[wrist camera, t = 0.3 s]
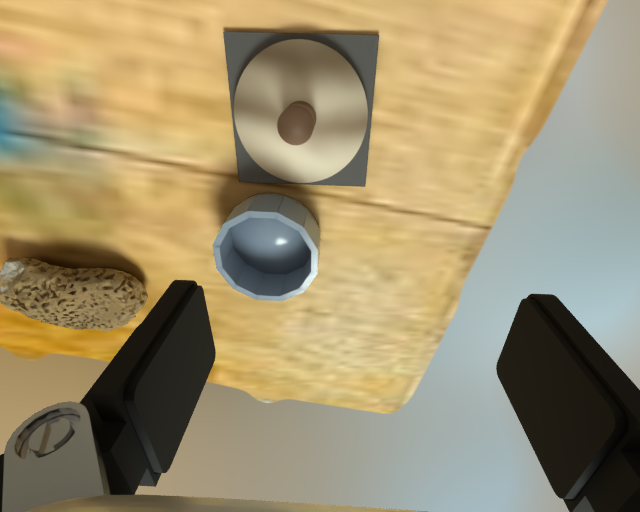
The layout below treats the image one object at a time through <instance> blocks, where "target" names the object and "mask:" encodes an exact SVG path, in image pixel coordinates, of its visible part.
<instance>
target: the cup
mask: <svg viewBox="0 0 640 512" xmlns="http://www.w3.org/2000/svg"><path fill="white" fill-rule="evenodd" d="M213 250H214V256H215V262H216V268H217V270H218V271H219V272H220V274H221V275H222V276H223V277H224V278H225V280H226V281H227V282H228V283H229V285H230V286H231V287H232V288H233V289H235V290H237V291H239V292H241V293H243V294H245V295H247V296H249V297H251V298H253V299H255V300H269V301H281V300H282V301H283V300H286V299H288V298H290V297H293V296H295V295H298V294H300V293H303V292H304V291H305V290H306V288H307V287H308V286H309V284H310V283H311V282H312V280H313V279H314V278H315V276H316V275H317V273H318V264H319V255H320V229H319V227H318V224H317V222H316V220H315V218H314V216H313V215H312V213H311V212H310V211H309V210H308V209H307V208H306V207H305V206H304V205H303V204H301V203H300V202H298V201H297V200H295V199H293V198H291V197H288V196H285V195H282V194H276V193H263V194H258V195H254V196H252V197H249V198H247V199H246V200H244V201H243V202H241V203H240V204H239V205H237V206H235V208H234V209H233V211H232V212H231V213H230V215H229V216H228V218H227V219H226V221H225V222H224V224H223V226H222V228H221V230H220V232H219V234H218V236H217V238H216V239H215V241H214V243H213Z"/></svg>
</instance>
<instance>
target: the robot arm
mask: <svg viewBox="0 0 640 512" xmlns="http://www.w3.org/2000/svg"><path fill="white" fill-rule="evenodd" d="M214 361H215V346H214V341H213V336H212V331H211V326H210V321H209V316H208V311H207V306H206V301H205V296H204V291H203V288H202V286H197V283H196V282H195V281H190V280H174V281H173V282H172V283H171V285H170V286H169V287H168V289H167V290H166V291H165V293H164V294H163V295H162V297H161V298H160V299H159V301H158V302H157V303H156V305H155V306H154V307H153V309H152V310H151V311H150V313H149V314H148V315H147V317H146V318H145V319H144V321H143V322H142V323H141V324H140V325H139V326H138V327H137V328H136V329H135V330H134V332H133V333H132V334H131V336H130V337H129V338H128V340H127V341H126V342H125V344H124V345H123V346H122V348H121V349H120V350H119V352H118V353H117V354H116V356H115V357H114V358H113V360H112V361H111V362H110V364H109V365H108V366H107V368H106V369H105V370H104V371H103V373H102V374H101V375H100V377H99V378H98V379H97V381H96V382H95V383H94V385H93V386H92V388H91V389H90V390H89V391H88V393H87V394H86V395H85V397H84V398H83V399H82V401H81V402H80V403H77V402H63V403H58V404H55V405H52V406H49V407H46V408H44V409H43V410H41V411H39V412H37V413H35V414H34V415H32V416H31V417H30V418H28V419H27V420H25V421H24V422H23V423H22V424H21V425H20V426H19V427H18V428H17V429H16V430H15V431H14V432H13V434H12V435H11V437H10V439H9V440H8V442H7V445H6V448H5V453H4V454H2V455H0V512H426V511H411V510H396V509H381V508H366V507H351V506H336V505H335V506H334V505H320V504H304V503H288V502H273V501H256V500H240V499H224V498H207V497H205V498H204V497H182V496H160V495H159V496H158V495H134V494H135V492H136V490H137V488H138V486H139V485H140V486H156V485H157V482H158V480H159V478H160V475H161V473H166V472H167V471H168V469H169V468H170V466H171V464H172V461H173V459H174V457H175V454H176V452H177V450H178V447H179V445H180V442H181V440H182V437H183V435H184V433H185V430H186V428H187V426H188V423H189V421H190V418H191V416H192V414H193V411H194V409H195V406H196V404H197V402H198V399H199V397H200V394H201V392H202V390H203V387H204V385H205V383H206V380H207V378H208V375H209V373H210V371H211V368H212V366H213V363H214ZM496 369H497V375H498V378H499V379H500V382H501V384H502V386H503V388H504V390H505V392H506V394H507V396H508V398H509V400H510V402H511V404H512V406H513V408H514V410H515V412H516V414H517V416H518V419H519V421H520V423H521V425H522V426H523V429H524V431H525V433H526V435H527V437H528V439H529V441H530V443H531V445H532V447H533V449H534V451H535V454H536V455H537V457H538V460H539V462H540V464H541V466H542V468H543V470H544V472H545V474H546V476H547V478H548V480H549V482H550V484H551V486H552V488H553V490H554V492H555V494H556V495H557V496H558V497H559V498H562V499H563V500H564V502H565V504H566V506H567V508H568V510H569V511H570V512H640V390H639V389H638V388H637V387H636V385H635V384H634V383H633V382H632V381H631V380H630V379H629V378H628V376H627V375H626V374H625V373H624V372H623V371H622V370H621V369H620V368H619V367H618V365H617V364H616V363H615V362H614V361H613V360H612V359H611V357H610V356H609V355H608V354H607V353H606V352H605V351H604V350H603V348H602V347H601V346H600V345H599V344H598V343H597V342H596V341H595V340H594V338H593V337H592V336H591V335H590V334H589V333H588V332H587V330H586V329H585V328H584V327H583V326H582V325H581V324H580V323H579V322H578V320H577V319H576V318H575V317H574V316H573V315H572V314H571V313H570V311H569V310H568V309H567V308H566V307H565V306H564V305H563V303H562V302H561V301H560V300H559V299H558V298H557V297H556V296H554V295H549V294H530V295H529V296H528V297H527V299H523V300H522V301H521V303H520V305H519V307H518V310H517V313H516V315H515V318H514V321H513V323H512V326H511V328H510V331H509V334H508V336H507V339H506V341H505V344H504V347H503V350H502V352H501V355H500V357H499V360H498V362H497V368H496Z"/></svg>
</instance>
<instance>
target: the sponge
mask: <svg viewBox="0 0 640 512" xmlns="http://www.w3.org/2000/svg"><path fill="white" fill-rule="evenodd" d="M147 298H148V295H147V292H146V289H145V287H144V286H143V284H142V283H141V282H140V281H139V280H137V279H136V278H135V277H133V276H132V275H131V274H129V273H126V272H124V271H119V270H116V269H109V268H105V269H102V268H77V269H71V268H64V267H59V266H55V265H49V264H47V263H46V262H42V261H40V260H37V259H31V258H9V259H8V260H7V261H6V262H5V264H4V266H3V268H2V269H1V270H0V302H1V303H2V304H3V305H4V306H5V307H6V308H9V309H12V310H14V311H18V312H21V313H23V314H24V315H26V316H27V317H29V318H32V319H35V320H41V322H45V323H50V324H53V325H57V326H61V327H66V328H73V329H85V328H87V329H93V330H96V329H99V330H102V331H109V330H113V329H115V328H119V327H122V326H123V325H126V324H127V323H128V322H129V321H130V320H131V319H132V318H134V317H136V316H135V314H136V313H137V312H138V311H139V310H140V309H141V308H142V307H143V306H144V304H145V302H146V300H147Z"/></svg>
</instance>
